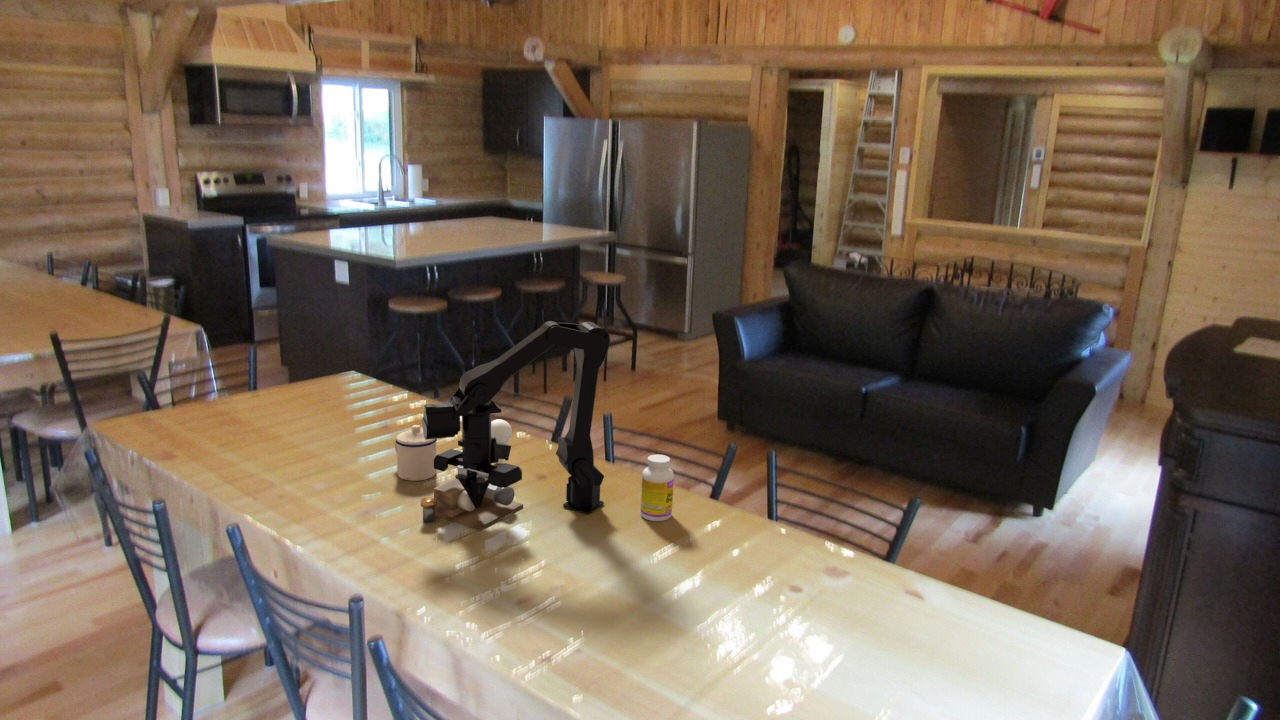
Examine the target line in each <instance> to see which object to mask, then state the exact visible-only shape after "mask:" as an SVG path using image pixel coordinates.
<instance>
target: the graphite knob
mask: <svg viewBox="0 0 1280 720" xmlns="http://www.w3.org/2000/svg"><path fill="white" fill-rule="evenodd" d="M484 497H487V498H490V499H493V500H494V501H495V502H496V503H499V504H503V505H506V506H508V505H510V504H511V503H512V501H514V498H515V490H514V488H513V487H511V486H508V487H506V488H501V487H497V486H493V485H491V484H489V486H488V488H487V490H486V493H485V495H484Z"/></svg>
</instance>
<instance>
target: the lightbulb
mask: <svg viewBox="0 0 1280 720" xmlns="http://www.w3.org/2000/svg"><path fill="white" fill-rule="evenodd" d="M512 434H513V430H512V427H511V425H510V423H508V421H506V420H504V419H501V418H499V419H494V420H491V437H495V438H496V442H499V443H503V444H507V445H508V443H509V442H510V440H511V438H512V436H513V435H512ZM503 463H505V459H499V462H497V463H496V464H497V465H500V464H501V465H502V464H503Z"/></svg>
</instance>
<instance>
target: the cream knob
mask: <svg viewBox="0 0 1280 720" xmlns="http://www.w3.org/2000/svg"><path fill="white" fill-rule="evenodd" d="M457 506H458V507H459V508H461V509H464V510H467V511H472V510H474V509H475V507H474V505H473V503H472V501H471V499H470V498H469V496H468V494H467V492H466V490H463V491H462V492H461V493H460V494H459V495H458V498H457Z"/></svg>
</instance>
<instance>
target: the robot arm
mask: <svg viewBox="0 0 1280 720" xmlns="http://www.w3.org/2000/svg"><path fill="white" fill-rule="evenodd" d="M555 345H560V346H565V347H570V348H573V351H574V356H575V361H576V371H575V373H576V374H575V380H574V388H573V394H572V405H571V412H570V421H569V426H568V427H569V428H568V431H567V433H566V435H565V436H564V437H563V436H558V438H557V444H558V445H557V449H556V452H555V455H556V457H558V461H559V463H560V465H561V466H562V468H564V469H565V471H566V472H567V473H568V474H569V475H570V476H568V479H567V482H566V491H565V495H566V496H565V497H566V498H565V500H566V502H564V503H563V506H562V507H564V508H567V509H571V510H573V511H577V512H580V513H583V514H590V513H592V512H593V511H595V510H597V509H598V508H600V507H602V506H604V504H605V502H604V501H603V500H601V485H602V482H603V481H604V478H605V475H604V474H603V472H601V471H600V469H598V467H597V466H596V465H595V463H594V461H595V459H594V457H595V456H594V447H593V443H592V439H591V438H592V437H591V433H592V432H591V431H592V424H593V416H594V409H595V402H596V401H595V399H596V395H597V394H596V392H597V387H598V378H599V371H600V368H601V366H602V365H603V364H604V363H605V360H606V358H607V355H608V352H609V349H610V345H611V337H610V335H609V333H608V332H607V331H606V330H605V329H603V327H600V326H598V325H597V324H596V323H594V322H592V321H584V322H581V323H580V324H578V323H571V322H556V321H553V320H548V321H545V322H544V323H543V324H542V325H541V326H540V327H539V328H538V329H536V330H535V331H533V332H532V333H530V334H529V335H528V336H526V337H525V338H524V339H522V340H521V341H520V342H518V343H517V344H515V345H514V346H513V347H511V348H510V349H508V350H507V351H506V352H504V353H503V354H501V355H500V356H499V357H497V358H496V359H494V360H491V361H490V362H486V363H482V364H480V365H477V366H475V367H474V368H472V369H470V370H468V371H466V372H464V373H463V375H461V376H460V379H459V385H458V387H457V388H456V390H455V391H454V393H453V394H452V395H451V397H450V398H449V399H448V400H449V402H448V403H441V404H439V403H438V404H435V403H434V404H433V403H428V404H427V403H425V404H424V407H423V409H424V410H423V413H422V415H423V417H422V418H421V424H422V429H423V434H424V438H425V440H428V439H437V440H439V439H447V438H449V439H450V438H455V436H456V435H459V432H460V431H461V436H462V438H461V439H458V440H457V446H459V447H462V448H461V449H462V450H457V449H454V448H450V449H447V450H445V451H443V452H440V453H436V457H435V458H434V469H436V471H439V472H445V471H446V470H447V469H449V466H452V467H455V468H456V469H457V474H455V475H454V477H455V478H454V479H458V480H459V481H460V483H461V484H462V486H463V487H464V489H465V490H466V492H467V494H468V496H469V498H470V499H471V501H472V503H473V505H474V507H475V508H479V507H480V506H481V503H482V501H483V498H484V495H485V493H486V490H487V488H488V486H489V484H491V485H493V486H497V487H501V488H506V487H511V486H512V485H514V484H516V483H518V482H520V481H523V469H522V468H520V466H517V465H515V464H510V463H506V462H503V463H501V465H500V464H499V465H493V464H497V462H499V459H504V461H508V462H509V458H510V455H511V450H512V449H511V448H512V445H511V444H508V443H507V444H503V443H499V442H496V438H495V437H491V422H492V414H500V413H502V409H501V407H500V406H499V405H498V404H497V403H495V401H494V400H493V398H495V396H496V395H497V394H498V393H500V391H501V390H502V388H503V387H504V385H505V383H506V382H508V380H509V379H510V378H511V377H512V376H514V375H516V374H517V373H518V372H519V371H521V370H522V369H524V368H525V367H527V366H528V365H529V364H530V363H532V362H534V361H535V359H537V358H539V357H540V356H541V355H543V354H545V353H546V352H547V351H549V350H550V349H551V348H553V347H554V346H555Z"/></svg>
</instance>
